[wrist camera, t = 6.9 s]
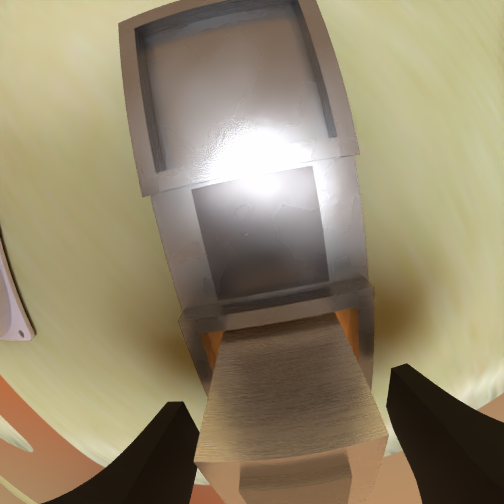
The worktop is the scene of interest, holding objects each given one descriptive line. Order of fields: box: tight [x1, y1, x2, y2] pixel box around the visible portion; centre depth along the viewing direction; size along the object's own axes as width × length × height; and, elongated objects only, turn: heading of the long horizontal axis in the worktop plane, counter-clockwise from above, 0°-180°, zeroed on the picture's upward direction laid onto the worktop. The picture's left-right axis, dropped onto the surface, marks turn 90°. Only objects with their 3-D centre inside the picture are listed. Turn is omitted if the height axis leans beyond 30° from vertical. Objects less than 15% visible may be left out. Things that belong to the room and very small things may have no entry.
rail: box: [118, 0, 374, 397], centre depth 10 cm, size 7×20×2 cm, turn 11°
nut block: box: [194, 312, 389, 504], centre depth 8 cm, size 4×4×6 cm
